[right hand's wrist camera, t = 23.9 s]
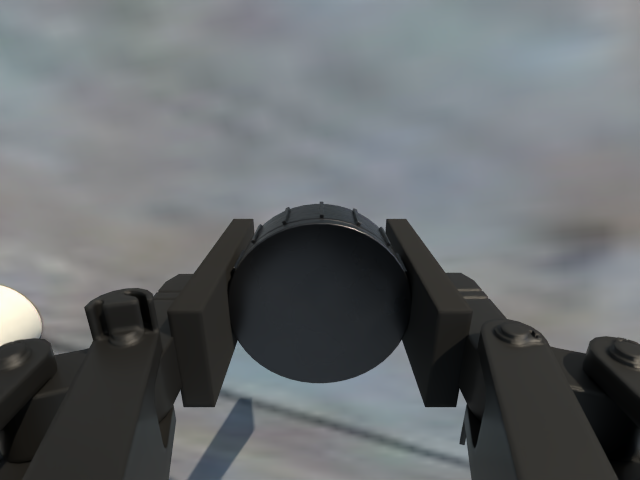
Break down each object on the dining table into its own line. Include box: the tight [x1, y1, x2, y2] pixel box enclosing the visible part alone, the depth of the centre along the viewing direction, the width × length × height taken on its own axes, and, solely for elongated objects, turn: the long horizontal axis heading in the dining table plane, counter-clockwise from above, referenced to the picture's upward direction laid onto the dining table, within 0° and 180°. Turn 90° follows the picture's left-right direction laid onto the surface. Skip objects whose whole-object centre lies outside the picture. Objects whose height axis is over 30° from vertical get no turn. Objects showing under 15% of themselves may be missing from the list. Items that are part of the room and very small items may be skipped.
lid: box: [228, 202, 412, 383], centre depth 11 cm, size 5×5×2 cm
